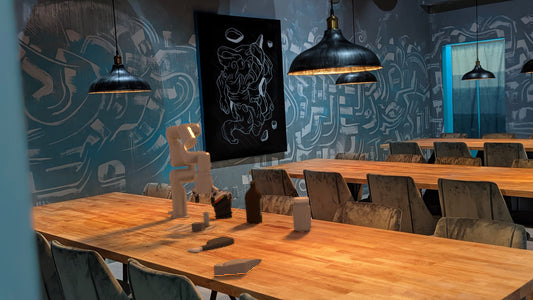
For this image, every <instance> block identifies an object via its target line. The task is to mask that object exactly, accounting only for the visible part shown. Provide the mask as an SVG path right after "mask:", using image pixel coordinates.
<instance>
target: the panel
mask: <svg viewBox="0 0 533 300" xmlns="http://www.w3.org/2000/svg"><path fill="white" fill-rule="evenodd" d="M219 227H221V224H210V226H209V227H205V230H203V231H192V223H177V224H174V225H172V226H170V227H168V228H165V229H163V230H162V232H171V233H173V232H175V233H176V232H177V233H197V234H196V235H197V236H202V235H204V236H205V235H207V233H209V232H211V231H213V230H215V229H217V228H219Z"/></svg>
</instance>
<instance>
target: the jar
mask: <svg viewBox="0 0 533 300" xmlns="http://www.w3.org/2000/svg"><path fill="white" fill-rule="evenodd" d="M293 202H294V203H293V206H292V217H293V218H292V221H293V230H294V231H295V232H297V231H306V232H309V231H311V229H312V215H311V212H312V211H311V205H310V199H309V197H308V196H296V197H293Z"/></svg>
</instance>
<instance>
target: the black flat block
mask: <svg viewBox="0 0 533 300" xmlns="http://www.w3.org/2000/svg"><path fill="white" fill-rule="evenodd" d="M231 205H232V202H230V200H229V196H228V195H227V194H222V195H220V196H219V197H218V198H216V199H215V202H214V203H213V204H211V207H213V209H214V210H213V212H214V218H215V219H216V220H225V219H229V218H233V211H232V207H231Z"/></svg>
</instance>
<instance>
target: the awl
mask: <svg viewBox="0 0 533 300" xmlns="http://www.w3.org/2000/svg"><path fill="white" fill-rule="evenodd" d="M202 214H203V215H202V216H203V222H205V227H209V226H210V225H211V223H210V211H205V212H203V213H202Z"/></svg>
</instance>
